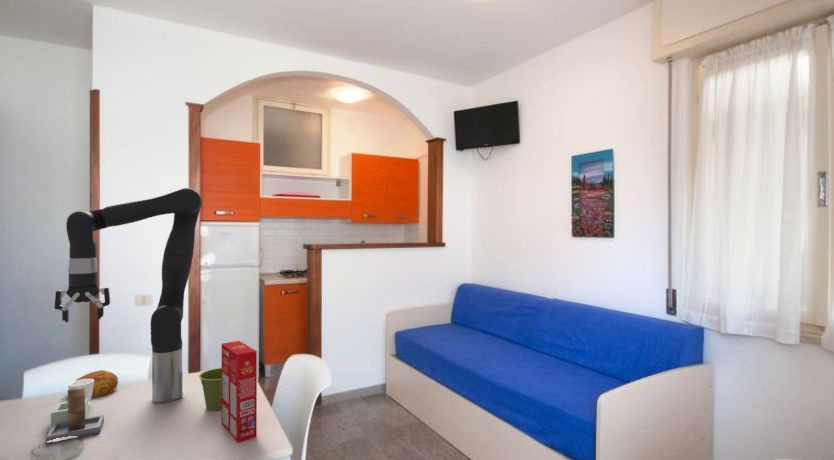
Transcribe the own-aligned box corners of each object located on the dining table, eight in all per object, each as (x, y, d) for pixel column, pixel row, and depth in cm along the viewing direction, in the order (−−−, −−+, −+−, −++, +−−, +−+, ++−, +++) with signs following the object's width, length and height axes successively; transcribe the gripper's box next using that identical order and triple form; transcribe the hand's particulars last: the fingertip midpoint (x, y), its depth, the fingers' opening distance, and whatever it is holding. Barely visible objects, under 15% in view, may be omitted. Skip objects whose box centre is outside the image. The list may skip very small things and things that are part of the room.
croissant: (115, 387, 164) (115, 366, 165) (120, 393, 153) (120, 370, 154) (67, 395, 155) (68, 373, 156) (68, 403, 143) (69, 379, 144)
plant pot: (204, 417, 133) (204, 382, 133) (194, 405, 142) (194, 372, 142) (242, 407, 141) (242, 374, 141) (231, 396, 150) (231, 365, 150)
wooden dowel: (86, 424, 126) (86, 385, 126) (84, 430, 123) (83, 389, 123) (69, 428, 124) (69, 387, 124) (66, 433, 121) (66, 392, 121)
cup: (76, 411, 137) (76, 387, 137) (58, 406, 141) (57, 383, 141) (99, 403, 144) (99, 379, 144) (81, 398, 148) (81, 376, 147)
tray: (103, 421, 131) (103, 414, 131) (99, 433, 123) (99, 426, 123) (54, 430, 125) (53, 423, 125) (46, 444, 117) (46, 436, 117)
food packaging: (256, 436, 121) (256, 351, 121) (237, 442, 118) (237, 354, 118) (239, 419, 132) (239, 340, 132) (221, 424, 129) (221, 343, 129)
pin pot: (88, 413, 136) (88, 398, 136) (83, 423, 129) (83, 407, 129) (57, 419, 132) (57, 403, 132) (50, 429, 125) (50, 413, 125)
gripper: (110, 269, 146) (110, 315, 146) (57, 271, 138) (57, 320, 138) (108, 271, 139) (108, 320, 139) (52, 273, 132) (52, 325, 132)
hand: (83, 320), depth 139 cm, fingers open, 8 cm apart
